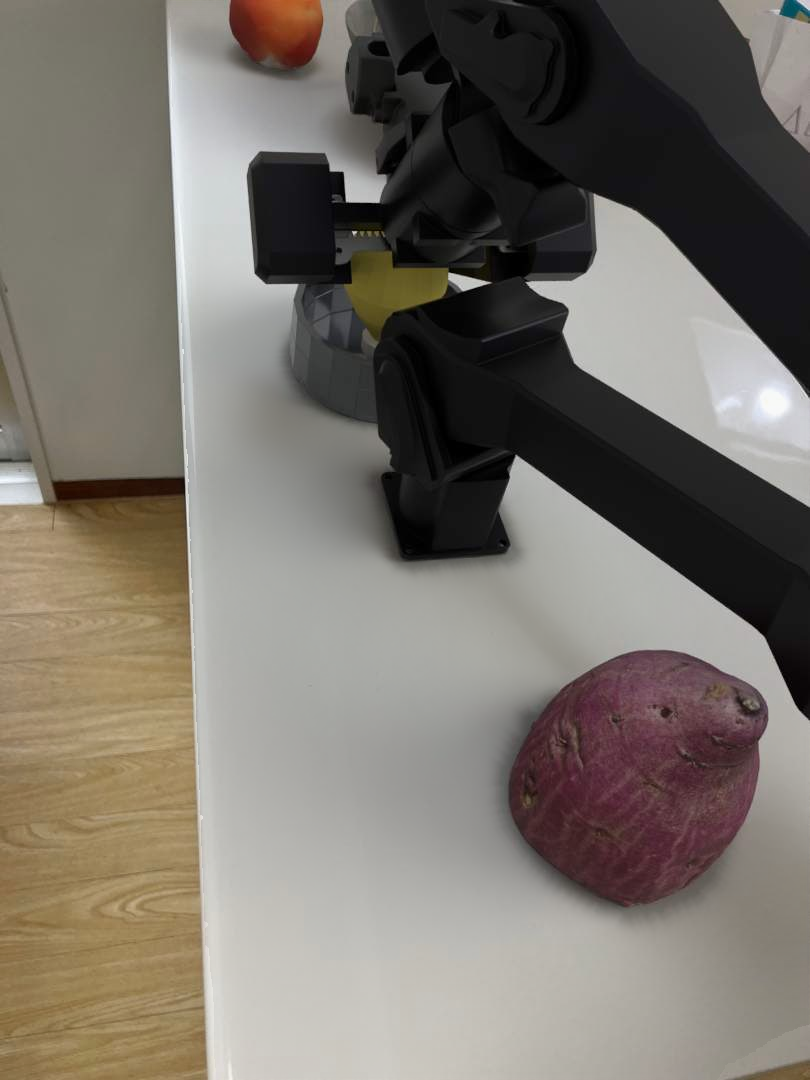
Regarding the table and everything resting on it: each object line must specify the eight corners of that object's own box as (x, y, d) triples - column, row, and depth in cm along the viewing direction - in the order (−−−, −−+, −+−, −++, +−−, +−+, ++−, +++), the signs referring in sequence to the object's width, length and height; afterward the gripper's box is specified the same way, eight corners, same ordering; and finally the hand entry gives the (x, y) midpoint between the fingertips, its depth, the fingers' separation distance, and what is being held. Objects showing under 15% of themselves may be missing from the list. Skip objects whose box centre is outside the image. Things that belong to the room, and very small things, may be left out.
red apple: (326, 84, 87) (334, -5, 81) (232, 77, 85) (233, -16, 79) (312, 45, 93) (319, -41, 87) (224, 37, 90) (224, -52, 84)
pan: (485, 421, 58) (501, 367, 54) (304, 426, 55) (310, 369, 51) (440, 311, 65) (453, 257, 62) (279, 310, 62) (282, 254, 59)
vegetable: (684, 936, 41) (928, 934, 28) (479, 870, 40) (629, 837, 27) (706, 723, 46) (923, 635, 33) (523, 660, 45) (670, 543, 32)
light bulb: (313, 365, 58) (322, 222, 51) (367, 323, 62) (382, 185, 55) (401, 406, 56) (423, 262, 49) (449, 359, 60) (476, 221, 53)
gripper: (643, 2, 42) (519, 136, 57) (251, -28, 37) (228, 126, 53) (656, 238, 43) (530, 308, 58) (272, 237, 38) (244, 314, 53)
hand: (389, 262), depth 55 cm, fingers closed on light bulb, 7 cm apart
